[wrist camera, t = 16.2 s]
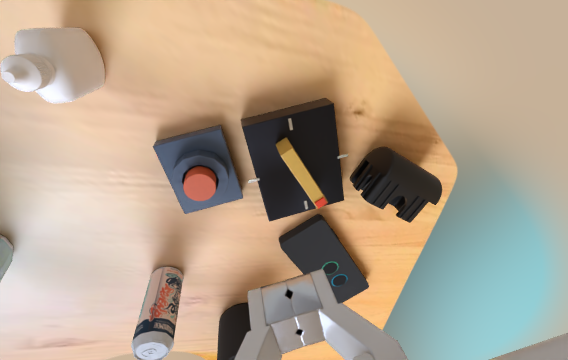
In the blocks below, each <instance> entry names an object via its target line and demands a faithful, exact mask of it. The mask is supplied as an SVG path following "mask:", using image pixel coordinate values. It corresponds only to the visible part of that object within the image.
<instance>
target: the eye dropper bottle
mask: <svg viewBox="0 0 568 360" xmlns="http://www.w3.org/2000/svg"><path fill="white" fill-rule="evenodd" d="M0 66H1V67H0V69H1V70H0V71H1V73H2V78H3V80H4V81H6V82H8V84H10V85H11V86H12V87H14V88H16V89H18V90H20V91H25V92H32V91H36V92H37V93H38V94H39V95H40V96H41V97H42V98H44V99H45V100H46V101H48V102H50V103H65V102H71V101H74V100H76V99H78V98H80V97H83V96H85V95H87V94H89V93H91V92H93V91H95V90H97V89H99V88H101V87H102V86H103V85H104V83H105V68H104V63H103V60H102V57H101V54H100V52H99V50H98V48H97V46H96V45H95V43H94V41H93V40H92V39H91V37H90V36H89V35H88V34H87V32H86V31H84V30H83V29H82V28H33V29H23V30H20V31H18V32H17V33H16V35H15V55H10V56H8V57H6V58H5V59H3V60H2V62H1V65H0Z"/></svg>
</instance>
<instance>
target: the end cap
mask: <svg viewBox="0 0 568 360" xmlns="http://www.w3.org/2000/svg"><path fill="white" fill-rule="evenodd" d="M350 181H351V182H352V183H353V186H354V187H355V189H356V190H358V191H359V190H360V189H361V190H363V192H362V193H361V196H362V197H363V198H364V199H365V200H366V201H367V202H368V203H370V204H372V205H374V206H376V207H378V208H381V209H384V208H385V206H386V205H387V204H388V203H389V204H391V205H393V206H394V207H395V208H396V209H397V210H398V211H399V212H398V213H397V214H396V216H397V217H399V218H401V219H403V220H405V221H407V222H409V223H411V221H412V220H413V219H414V218H415V217H416V216H417V215H418V213H419V212H420V211H421V210H422V209H423V208H424V207H425V205H426V204H427V203H428V202H431V203H432V204H434V205H436V204H437V203H438V201H439V199H440V197H441V194H442V186H441V183H440V181H439V179H438V178H437V177H435V176H434V175H432V174H430V173H429V172H427V171H426V170H424V169H422V168H421V167H419V166H417V165H416V164H414V163H413V162H411V161H409V160H408V159H406V158H405V157H403V156H401V155H400V154H398V153H396V152H395V151H393V150H392V149H390V148H388V147H379V148H376V149H374V150H373V151H371V152H370V153H369V154H368V155H367V156H366V157H365V158H364V159H363V161H362V162H361V163H360V165H359V166H358V167H357V169H356V170H355V172H354V173H353V174H352V176H351V177H350Z"/></svg>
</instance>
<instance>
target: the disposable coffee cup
mask: <svg viewBox="0 0 568 360" xmlns="http://www.w3.org/2000/svg"><path fill="white" fill-rule="evenodd" d="M12 256H13V246H12V244H11V243H10V242H9V241H8V240H7V238H6V237H4V236H2V235H0V281H1V280H2V278H3V276H4V274H5V272H6V271H7V269H8V267H9V265H10V264H11V262H12Z"/></svg>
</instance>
